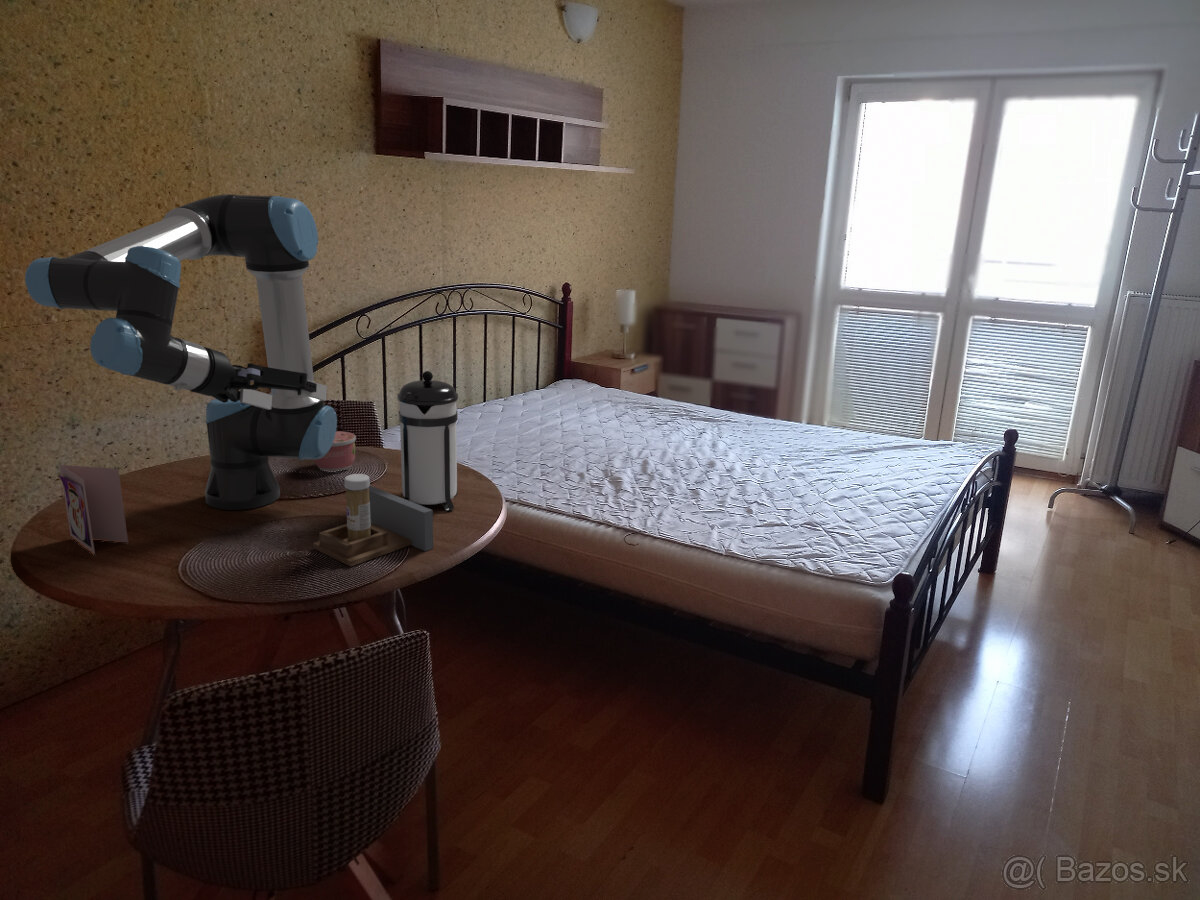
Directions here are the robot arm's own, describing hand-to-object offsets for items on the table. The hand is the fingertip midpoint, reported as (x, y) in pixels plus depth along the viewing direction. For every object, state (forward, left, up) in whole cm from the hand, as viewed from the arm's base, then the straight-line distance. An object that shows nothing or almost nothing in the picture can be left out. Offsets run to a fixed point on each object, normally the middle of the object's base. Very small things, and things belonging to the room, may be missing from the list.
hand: (297, 398), depth 151 cm
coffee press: (+24, +22, -30) cm, 44 cm away
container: (+2, +48, -30) cm, 57 cm away
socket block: (+11, -2, -29) cm, 31 cm away
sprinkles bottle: (+10, -2, -28) cm, 30 cm away
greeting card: (-38, +6, -30) cm, 49 cm away
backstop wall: (+17, +3, -29) cm, 34 cm away
